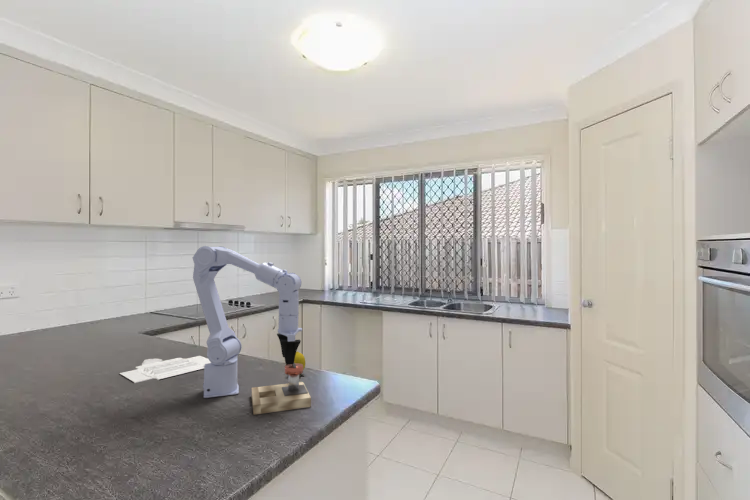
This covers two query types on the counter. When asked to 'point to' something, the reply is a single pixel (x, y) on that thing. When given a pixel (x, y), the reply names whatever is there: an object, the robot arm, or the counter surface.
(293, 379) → the peg
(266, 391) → the board
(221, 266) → the robot arm
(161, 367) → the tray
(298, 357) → the lemon
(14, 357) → the counter surface
